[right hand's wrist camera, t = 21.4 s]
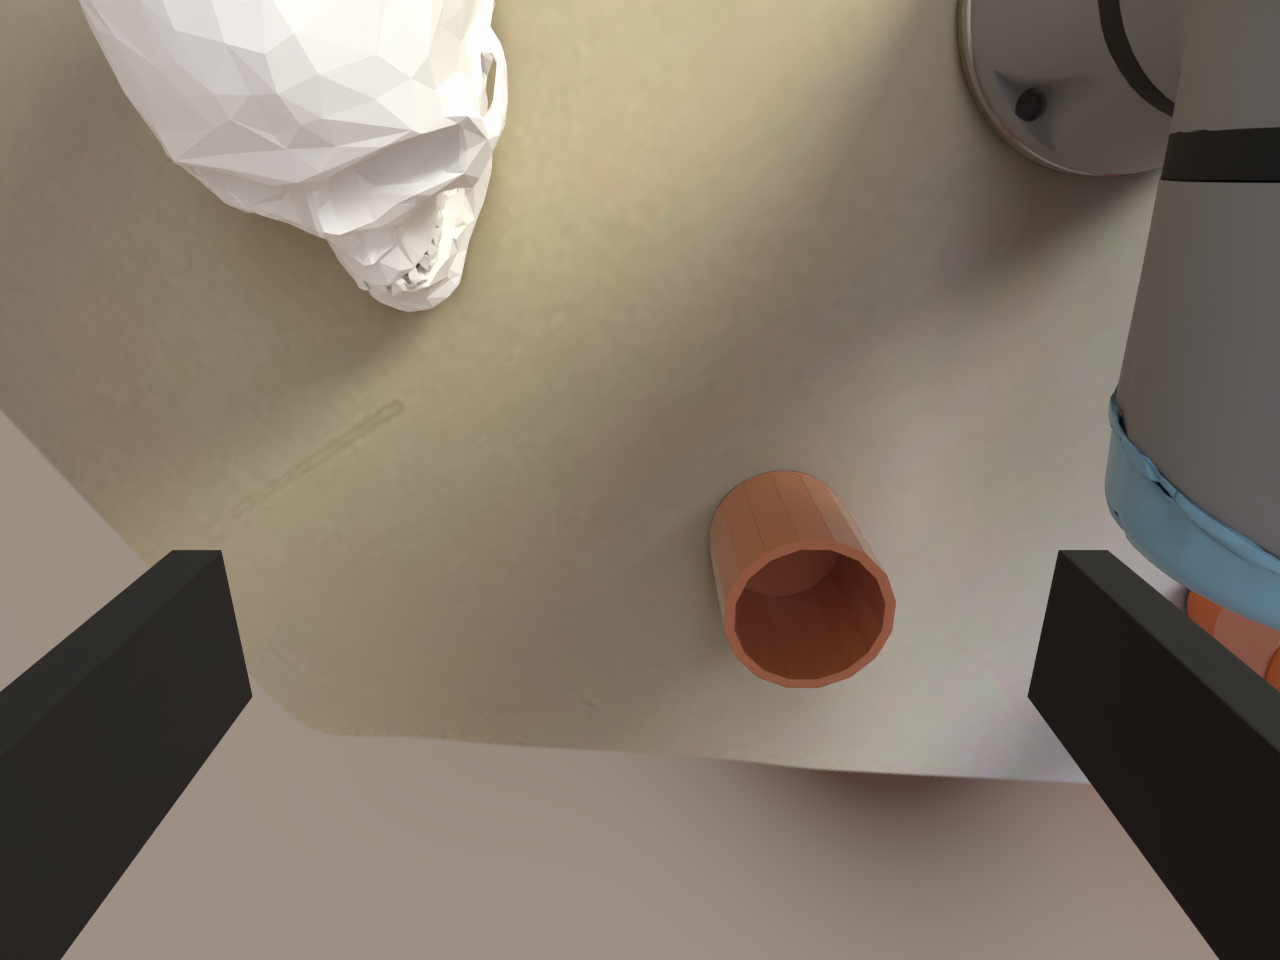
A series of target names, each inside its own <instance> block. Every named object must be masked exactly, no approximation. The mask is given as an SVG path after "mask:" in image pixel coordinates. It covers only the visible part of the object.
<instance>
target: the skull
mask: <svg viewBox="0 0 1280 960" xmlns="http://www.w3.org/2000/svg"><path fill="white" fill-rule="evenodd" d="M78 1H79V3H80V5H81V7H82V10H83V12H84V14H85V17H86V19H87V21H88V24H89V26H90V28H91V30H92V32H93V34H94V36H95V38H96V40H97V41H98V43H99V45H100V47H101V49H102V51H103V53H104V55H105V57H106V59H107V61H108V63H109V65H110V66H111V68H112V70H113V72H114V74H115V76H116V78H117V80H118V82H119V84H120V86H121V88H122V89H123V91H124V93H125V95H126V96H127V97H128V99H129V100H130V101H131V103H132V104H133V106H134V107H135V108H136V110H137V111H138V113H139V114H140V115H141V117H142V118H143V119H144V121H145V122H146V124H147V125H148V126H149V128H150V129H151V131H152V132H153V133H154V135H155V136H156V137H157V139H158V140H159V142H160V143H161V145H162V147H163V149H164V151H165V154H166V155H167V156H168V157H169V158H170V159H172V160H173V162H174V163H175V164H178V165H179V166H181V167H182V168H183V169H184V170H186V171H187V172H188V173H190V174H191V175H192V176H194V177H195V178H196V179H198V180H199V181H200V182H201V183H202V184H204V185H205V186H206V187H207V188H208V189H209V190H210V191H212V192H213V193H214V194H215V195H216V196H217V197H218V198H219V199H221V200H222V201H223V202H224V203H225V204H227V205H230V206H232V207H234V208H236V209H239V210H241V211H243V212H246V213H256V214H259V215H262V216H264V217H268V218H271V219H274V220H278V221H281V222H285V223H288V224H291V225H293V226H295V227H297V228H299V229H301V230H304V231H306V232H308V233H310V234H313V235H315V236H318V237H320V238H323V239H326V240H327V242H328V243H329V245H330V247H331V248H332V250H333V252H334V254H335V255H336V257H337V259H338V261H339V262H340V263H341V264H342V265H343V267H344V268H345V270H346V271H347V272H348V274H349V275H350V276H351V277H352V278H353V279H354V280H355V282H356V284H357V286H358V287H359V288H360V289H362V290H365V291H367V290H368V292H369V293H370V295H371V296H372V297H374V298H375V299H376V300H377V301H379V302H380V303H383V304H385V305H388V306H391V307H393V308H396V309H398V310H402V311H406V312H414V311H422V310H430V309H433V308H434V307H435V306H437V305H438V304H439V303H441V302H442V301H443V300H445V299H446V298H447V297H449V296H450V295H451V293H452V292H453V291H454V290H455V289H456V287H457V286H458V285H459V284H460V282H461V277H462V272H463V268H464V263H465V258H466V254H467V249H468V244H469V241H470V238H471V235H472V233H473V230H474V227H475V225H476V222H477V219H478V216H479V214H480V211H481V208H482V206H483V203H484V200H485V196H486V192H487V188H488V184H489V180H490V176H491V171H492V154H493V152H494V150H495V148H496V146H497V144H498V142H499V139H500V136H501V134H502V131H503V129H504V126H505V119H506V112H507V105H508V94H507V66H506V61H505V57H504V52H503V48H502V46H501V44H500V42H499V40H498V38H497V37H496V35H495V33H494V32H493V30H492V28H491V27H490V25H491V18H492V13H493V10H494V6H495V3H496V0H78ZM493 59H494V61H495V62H496V64H497V68H496V78H495V87H494V96H493V101H492V104H491V106H490V108H489V110H488V100H487V95H486V85H487V76H488V73H489V70H490V68H491V65H492V63H493ZM426 252H427V255H424V254H425V253H426ZM417 263H419V264H420V266H419V267H418V269H416V265H417ZM407 273H408V276H404V275H405V274H407Z"/></svg>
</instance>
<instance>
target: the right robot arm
mask: <svg viewBox="0 0 1280 960" xmlns="http://www.w3.org/2000/svg"><path fill="white" fill-rule="evenodd" d="M958 39H959V49H960V55H961V60H962V66H963V70H964V73H965V76H966V80H967V83H968V86H969V88H970V91H971V93H972V96H973V98H974V100H975V102H976V104H977V106H978V108H979V109H980V111H981V113H982V115H983V116H984V117H985V119H986V120H987V122H988V123H989V125H990V126H991V127H992V128H993V130H994V131H995V132H996V133H997V134H998V135H999V136H1000V137H1001V138H1002V139H1003V140H1004V141H1005V142H1006V143H1007V144H1008V145H1009V146H1010V147H1012V148H1013V149H1014V150H1016V151H1017V152H1018V153H1020V154H1021V155H1023V156H1024V157H1026V158H1028V159H1030V160H1032V161H1033V162H1035V163H1037V164H1040V165H1042V166H1045V167H1047V168H1050V169H1053V170H1057V171H1060V172H1064V173H1070V174H1076V175H1091V176H1118V175H1129V174H1135V173H1141V172H1145V171H1149V170H1153V169H1157V168H1160V167H1163V170H1162V175H1161V178H1163V179H1159V184H1158V190H1157V195H1156V200H1155V205H1154V210H1153V216H1152V221H1151V226H1150V231H1149V237H1148V242H1147V247H1146V252H1145V257H1144V263H1143V268H1142V273H1141V278H1140V283H1139V287H1138V292H1137V297H1136V302H1135V306H1134V311H1133V316H1132V321H1131V326H1130V330H1129V335H1128V340H1127V345H1126V349H1125V354H1124V359H1123V364H1122V369H1121V373H1120V378H1119V383H1118V385H1117V387H1116V389H1115V391H1114V393H1113V395H1112V396H1111V399H1110V403H1109V419H1110V425H1111V427H1112V434H1111V441H1110V448H1109V455H1108V462H1107V470H1106V477H1105V494H1106V500H1107V504H1108V507H1109V510H1110V512H1111V514H1112V516H1113V517H1114V519H1115V520H1116V522H1117V523H1118V525H1119V526H1120V527H1121V528H1122V529H1123V530H1124V531H1125V534H1126V537H1127V539H1128V540H1129V542H1130V543H1131V544H1132V545H1133V546H1134V547H1135V548H1136V549H1137V550H1138V551H1139V552H1140V553H1141V554H1142V555H1143V556H1144V557H1145V558H1146V559H1148V560H1149V561H1150V562H1151V563H1152V564H1153V565H1155V566H1156V567H1157V568H1158V569H1160V570H1161V571H1162V572H1164V573H1165V574H1167V575H1168V576H1169V577H1171V578H1172V579H1174V580H1175V581H1177V582H1178V583H1180V584H1181V585H1183V586H1185V587H1186V588H1188V589H1190V590H1191V591H1193V592H1195V593H1196V594H1198V595H1200V596H1202V597H1204V598H1206V599H1207V600H1209V601H1211V602H1213V603H1215V604H1217V605H1219V606H1221V607H1223V608H1225V609H1227V610H1229V611H1232V612H1234V613H1236V614H1238V615H1240V616H1242V617H1244V618H1246V619H1249V620H1251V621H1254V622H1256V623H1259V624H1261V625H1264V626H1267V627H1269V628H1271V629H1274V630H1276V631H1279V632H1280V0H959V6H958ZM251 698H252V693H251V688H250V683H249V679H248V674H247V669H246V664H245V660H244V655H243V650H242V646H241V641H240V636H239V631H238V627H237V622H236V617H235V613H234V608H233V603H232V599H231V594H230V589H229V584H228V580H227V575H226V570H225V566H224V561H223V556H222V552H221V550H172V551H171V552H170V553H168V554H167V555H166V556H165V557H164V558H162V559H161V560H160V561H159V562H158V563H156V564H155V565H154V566H153V567H151V568H150V569H149V570H148V571H147V572H145V573H144V574H143V575H142V576H141V577H139V578H138V579H137V580H136V581H135V582H133V583H132V584H131V585H130V586H128V587H127V588H126V589H125V590H124V591H122V592H121V593H120V594H119V595H117V596H116V597H115V598H114V599H113V600H111V601H110V602H109V603H108V604H107V605H105V606H104V607H103V608H102V609H100V610H99V611H98V612H97V613H96V614H94V615H93V616H92V617H91V618H90V619H88V620H87V621H86V622H85V623H83V624H82V625H81V626H80V627H79V628H77V629H76V630H75V631H74V632H73V633H71V634H70V635H69V636H68V637H66V638H65V639H64V640H63V641H62V642H60V643H59V644H58V645H57V646H56V647H54V648H53V649H52V650H51V651H49V652H48V653H47V654H46V655H45V656H43V657H42V658H41V659H40V660H39V661H37V662H36V663H35V664H34V665H32V666H31V667H30V668H29V669H28V670H26V671H25V672H24V673H23V674H21V675H20V676H19V677H18V678H17V679H15V680H14V681H13V682H12V683H11V684H9V685H8V686H7V687H6V688H5V689H3V690H2V691H1V692H0V960H61V958H62V957H63V956H64V954H65V953H66V951H67V950H68V949H69V947H70V946H71V945H72V943H73V942H74V940H75V939H76V938H77V936H78V935H79V934H80V932H81V931H82V929H83V928H84V927H85V925H86V924H87V923H88V921H89V920H90V919H91V917H92V916H93V914H94V913H95V912H96V910H97V909H98V908H99V906H100V905H101V903H102V902H103V901H104V899H105V898H106V897H107V895H108V894H109V892H110V891H111V890H112V888H113V887H114V886H115V884H116V883H117V881H118V880H119V879H120V877H121V876H122V875H123V873H124V872H125V870H126V869H127V868H128V866H129V865H130V864H131V862H132V861H133V860H134V858H135V857H136V855H137V854H138V853H139V851H140V850H141V849H142V847H143V846H144V844H145V843H146V842H147V840H148V839H149V838H150V836H151V835H152V834H153V832H154V831H155V829H156V828H157V827H158V825H159V824H160V823H161V821H162V820H163V818H164V817H165V816H166V814H167V813H168V812H169V810H170V809H171V807H172V806H173V805H174V803H175V802H176V801H177V799H178V798H179V796H180V795H181V794H182V792H183V791H184V790H185V788H186V787H187V786H188V784H189V783H190V781H191V780H192V779H193V777H194V776H195V774H196V773H197V772H198V770H199V769H200V768H201V766H202V765H203V764H204V762H205V761H206V759H207V758H208V757H209V755H210V754H211V753H212V751H213V750H214V748H215V747H216V746H217V744H218V743H219V742H220V740H221V739H222V737H223V736H224V735H225V733H226V732H227V731H228V729H229V728H230V727H231V725H232V724H233V722H234V721H235V720H236V718H237V717H238V716H239V714H240V713H241V712H242V710H243V709H244V707H245V706H246V705H247V703H248V702H249V701H250V699H251ZM1028 698H1029V699H1030V701H1031V702H1032V703H1033V705H1034V706H1035V707H1036V709H1037V710H1038V712H1039V713H1040V714H1041V716H1042V717H1043V718H1044V720H1045V721H1046V722H1047V724H1048V725H1049V727H1050V728H1051V729H1052V731H1053V732H1054V733H1055V735H1056V736H1057V738H1058V739H1059V740H1060V742H1061V743H1062V744H1063V746H1064V747H1065V749H1066V750H1067V751H1068V753H1069V754H1070V755H1071V757H1072V758H1073V760H1074V761H1075V762H1076V764H1077V765H1078V766H1079V768H1080V769H1081V770H1082V772H1083V773H1084V775H1085V776H1086V777H1087V779H1088V780H1089V781H1090V783H1091V784H1092V786H1093V787H1094V788H1095V790H1096V791H1097V792H1098V794H1099V795H1100V796H1101V798H1102V799H1103V801H1104V802H1105V803H1106V805H1107V806H1108V807H1109V809H1110V810H1111V812H1112V813H1113V814H1114V816H1115V817H1116V818H1117V820H1118V821H1119V823H1120V824H1121V825H1122V827H1123V828H1124V829H1125V831H1126V832H1127V834H1128V835H1129V836H1130V838H1131V839H1132V840H1133V842H1134V843H1135V844H1136V846H1137V847H1138V848H1139V850H1140V851H1141V853H1142V854H1143V855H1144V857H1145V858H1146V860H1147V861H1148V862H1149V864H1150V865H1151V866H1152V868H1153V869H1154V871H1155V872H1156V873H1157V874H1158V876H1159V877H1160V879H1161V880H1162V882H1163V883H1164V884H1165V886H1166V887H1167V888H1168V890H1169V891H1170V892H1171V894H1172V895H1173V897H1174V898H1175V899H1176V901H1177V902H1178V903H1179V905H1180V906H1181V907H1182V909H1183V910H1184V912H1185V913H1186V914H1187V916H1188V917H1189V919H1190V920H1191V921H1192V923H1193V924H1194V925H1195V927H1196V928H1197V929H1198V931H1199V932H1200V934H1201V935H1202V936H1203V938H1204V939H1205V940H1206V942H1207V943H1208V944H1209V946H1210V947H1211V949H1212V950H1213V951H1214V953H1215V954H1216V956H1217V957H1218V958H1219V960H1280V692H1279V691H1278V690H1277V689H1276V688H1274V687H1273V686H1272V685H1271V684H1269V683H1268V682H1267V681H1266V680H1265V679H1263V678H1262V677H1261V676H1260V675H1259V674H1257V673H1256V672H1255V671H1254V670H1252V669H1251V668H1250V667H1249V666H1248V665H1246V664H1245V663H1244V662H1243V661H1242V660H1240V659H1239V658H1238V657H1237V656H1235V655H1234V654H1233V653H1232V652H1231V651H1229V650H1228V649H1227V648H1226V647H1224V646H1223V645H1222V644H1221V643H1220V642H1218V641H1217V640H1216V639H1215V638H1214V637H1212V636H1211V635H1210V634H1209V633H1207V632H1206V631H1205V630H1204V629H1203V628H1201V627H1200V626H1199V625H1198V624H1197V623H1195V622H1194V621H1193V620H1192V619H1190V618H1189V617H1188V616H1187V615H1186V614H1184V613H1183V612H1182V611H1181V610H1180V609H1178V608H1177V607H1176V606H1175V605H1173V604H1172V603H1171V602H1170V601H1169V600H1167V599H1166V598H1165V597H1164V596H1163V595H1161V594H1160V593H1159V592H1158V591H1156V590H1155V589H1154V588H1153V587H1152V586H1150V585H1149V584H1148V583H1147V582H1146V581H1144V580H1143V579H1142V578H1141V577H1139V576H1138V575H1137V574H1136V573H1135V572H1133V571H1132V570H1131V569H1130V568H1129V567H1127V566H1126V565H1125V564H1124V563H1122V562H1121V561H1120V560H1119V559H1118V558H1116V557H1115V556H1114V555H1113V554H1112V553H1110V552H1109V551H1108V550H1059V552H1058V556H1057V561H1056V566H1055V570H1054V575H1053V580H1052V584H1051V589H1050V594H1049V599H1048V603H1047V608H1046V613H1045V617H1044V622H1043V627H1042V631H1041V636H1040V641H1039V646H1038V650H1037V655H1036V660H1035V664H1034V669H1033V674H1032V678H1031V683H1030V688H1029V693H1028Z"/></svg>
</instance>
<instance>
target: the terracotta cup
mask: <svg viewBox="0 0 1280 960" xmlns="http://www.w3.org/2000/svg"><path fill="white" fill-rule="evenodd" d="M710 555H711V561H712V566H713V572H714V577H715V583H716V588H717V594H718V599H719V605H720V610H721V616H722V622H723V627H724V632H725V635H726V637H727V639H728V641H729V644H730V646H731V648H732V651H733V653H734V655H735V657H736V658H737V659H738V660H739V661H740V662H741V663H742V664H743V665H745V666H746V667H747V668H748V669H749V670H750V671H751V672H752V673H754V674H755V675H756V676H757V677H759V678H761V679H764V680H767V681H770V682H773V683H775V684H778V685H781V686H784V687H788V688H819V687H823V686H826V685H829V684H832V683H835V682H838V681H841V680H844V679H847V678H849V677H851V676H853V675H854V674H855V673H857V672H858V671H859V670H861V669H862V668H863V667H864V666H866V665H867V664H868V663H870V662H871V661H872V660H874V659H875V657H877V655H878V653H879V652H880V650H881V649H882V647H883V645H884V644H885V642H886V640H887V639H888V637H889V636H890V634H891V632H892V628H893V620H894V613H895V605H896V601H895V598H894V595H893V592H892V589H891V586H890V583H889V580H888V577H887V575H886V573H885V571H884V570H883V568H882V566H881V565H880V563H879V561H878V560H877V558H876V556H875V555H874V553H873V551H872V550H871V548H870V546H869V545H868V543H867V541H866V540H865V538H864V536H863V535H862V533H861V531H860V530H859V528H858V526H857V525H856V523H855V521H854V520H853V518H852V516H851V515H850V513H849V511H848V510H847V508H846V506H845V505H844V504H843V503H842V502H841V501H840V499H839V498H838V496H837V495H836V494H835V493H834V492H833V490H832V489H830V488H829V487H828V486H827V485H826V484H824V483H823V482H821V481H820V480H818V479H816V478H814V477H812V476H809V475H806V474H803V473H799V472H793V471H774V472H768V473H764V474H760V475H757V476H755V477H752V478H750V479H748V480H746V481H744V482H743V483H741V484H739V485H738V486H737V487H736V488H734V489H733V490H732V491H731V492H730V493H729V494H728V495H727V496H726V497H725V498H724V499H723V501H722V502H721V503H720V505H719V507H718V508H717V510H716V512H715V514H714V517H713V519H712V523H711V527H710Z"/></svg>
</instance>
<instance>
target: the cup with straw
mask: <svg viewBox="0 0 1280 960" xmlns="http://www.w3.org/2000/svg"><path fill="white" fill-rule="evenodd" d="M1187 613H1188V617H1189V618H1190V619H1192V620H1193V621H1194V622H1195V623H1197V624H1198V625H1199V626H1200V627H1201V628H1203V629H1204V630H1205V631H1206V632H1207V633H1209V634H1210V635H1211V636H1212V637H1214V638H1215V639H1216V640H1217V641H1218V642H1220V643H1221V644H1222V645H1223V646H1224V647H1226V648H1227V649H1228V650H1229V651H1231V652H1232V653H1233V654H1234V655H1235V656H1237V657H1238V658H1239V659H1240V660H1242V661H1243V662H1244V663H1245V664H1246V665H1248V666H1249V667H1250V668H1251V669H1252V670H1254V671H1255V672H1256V673H1257V674H1259V675H1260V676H1261V677H1262V678H1263V679H1265V680H1266V681H1267V682H1268V683H1269V684H1271V685H1272V686H1273V687H1274V688H1276V689H1277V690H1278V691H1279V692H1280V632H1279V631H1276V630H1274V629H1271V628H1269V627H1267V626H1264V625H1261V624H1259V623H1256V622H1254V621H1251V620H1249V619H1246V618H1244V617H1242V616H1240V615H1238V614H1236V613H1234V612H1232V611H1229V610H1227V609H1225V608H1223V607H1221V606H1219V605H1217V604H1215V603H1213V602H1211V601H1209V600H1207V599H1206V598H1204V597H1202V596H1200V595H1198V594H1196V593H1195V592H1193V591H1191V590H1190V593H1189V596H1188V600H1187Z"/></svg>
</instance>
